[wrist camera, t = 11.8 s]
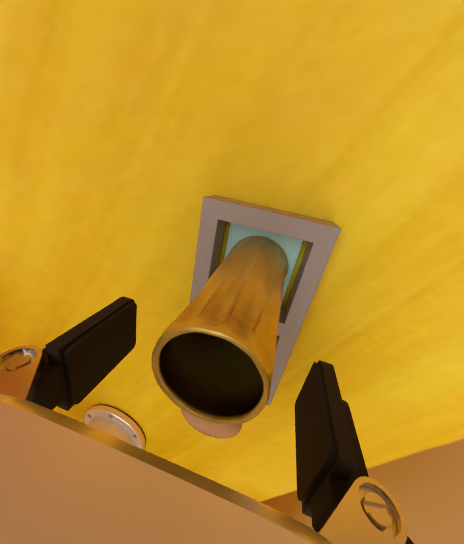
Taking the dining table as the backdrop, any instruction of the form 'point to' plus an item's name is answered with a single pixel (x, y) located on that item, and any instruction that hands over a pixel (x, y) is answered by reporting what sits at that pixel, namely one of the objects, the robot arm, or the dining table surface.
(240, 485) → the dining table surface
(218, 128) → the dining table surface
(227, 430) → the walnut peg
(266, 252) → the vase
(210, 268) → the slot rack
